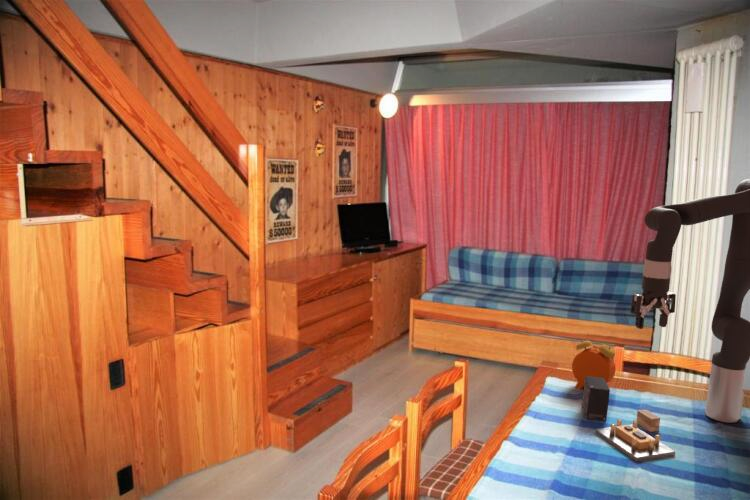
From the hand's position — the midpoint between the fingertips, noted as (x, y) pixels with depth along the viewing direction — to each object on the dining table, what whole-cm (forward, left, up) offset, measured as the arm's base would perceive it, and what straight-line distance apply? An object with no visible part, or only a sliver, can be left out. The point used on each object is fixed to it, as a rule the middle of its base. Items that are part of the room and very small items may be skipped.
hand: (650, 327), depth 180 cm
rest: (+1, +4, -30) cm, 30 cm away
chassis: (+13, +12, -30) cm, 35 cm away
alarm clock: (-1, -25, -30) cm, 39 cm away
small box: (+11, -8, -30) cm, 33 cm away
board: (+13, +12, -29) cm, 34 cm away
